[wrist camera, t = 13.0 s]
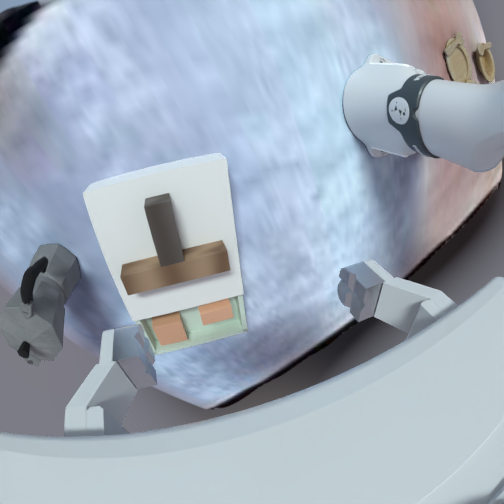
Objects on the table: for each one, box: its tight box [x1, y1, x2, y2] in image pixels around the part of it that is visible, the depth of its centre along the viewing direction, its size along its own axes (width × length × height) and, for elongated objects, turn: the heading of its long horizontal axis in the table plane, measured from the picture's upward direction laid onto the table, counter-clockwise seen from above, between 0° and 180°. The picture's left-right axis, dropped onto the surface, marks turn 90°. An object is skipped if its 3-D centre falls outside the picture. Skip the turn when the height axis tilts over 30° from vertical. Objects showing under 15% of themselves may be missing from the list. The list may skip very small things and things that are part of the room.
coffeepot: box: [0, 244, 81, 366], centre depth 27 cm, size 15×9×18 cm, turn 151°
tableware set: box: [444, 32, 495, 84], centre depth 41 cm, size 35×29×4 cm
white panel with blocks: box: [83, 153, 244, 321], centre depth 37 cm, size 18×21×4 cm
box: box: [135, 294, 248, 355], centre depth 46 cm, size 18×10×4 cm, turn 95°
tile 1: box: [198, 298, 234, 326], centre depth 44 cm, size 5×5×2 cm
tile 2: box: [152, 311, 188, 346], centre depth 45 cm, size 5×5×2 cm
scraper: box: [120, 193, 230, 295], centre depth 33 cm, size 14×11×3 cm
